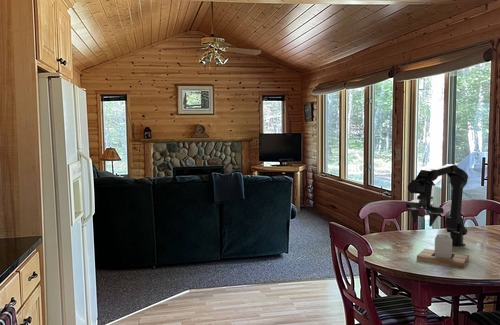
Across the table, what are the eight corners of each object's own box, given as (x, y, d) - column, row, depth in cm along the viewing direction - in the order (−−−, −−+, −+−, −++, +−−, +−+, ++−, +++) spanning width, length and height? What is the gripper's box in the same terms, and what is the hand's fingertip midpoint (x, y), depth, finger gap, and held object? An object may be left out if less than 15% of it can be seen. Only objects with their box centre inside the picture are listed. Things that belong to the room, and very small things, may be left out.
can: (453, 263, 195) (454, 237, 195) (436, 262, 197) (436, 237, 196) (449, 258, 203) (449, 233, 202) (432, 257, 204) (433, 233, 203)
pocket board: (424, 253, 211) (424, 248, 211) (468, 260, 199) (468, 255, 199) (416, 260, 199) (416, 255, 199) (463, 268, 187) (463, 262, 187)
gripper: (399, 191, 217) (396, 221, 217) (430, 195, 201) (427, 228, 201) (414, 192, 222) (411, 221, 222) (445, 196, 206) (442, 228, 206)
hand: (422, 224), depth 213 cm, fingers open, 9 cm apart
